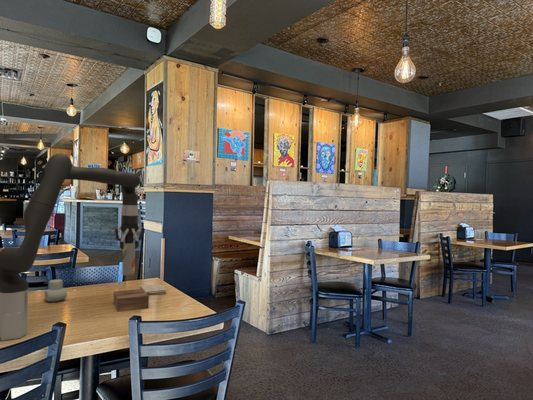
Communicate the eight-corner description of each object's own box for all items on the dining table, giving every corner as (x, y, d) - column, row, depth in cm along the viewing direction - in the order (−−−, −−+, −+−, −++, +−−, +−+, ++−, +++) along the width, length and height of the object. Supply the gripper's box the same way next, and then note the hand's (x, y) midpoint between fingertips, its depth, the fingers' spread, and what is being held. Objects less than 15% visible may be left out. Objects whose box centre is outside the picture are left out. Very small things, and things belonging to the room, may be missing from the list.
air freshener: (43, 299, 186) (43, 279, 186) (61, 296, 192) (61, 277, 192) (49, 304, 179) (49, 283, 178) (67, 301, 184) (68, 281, 184)
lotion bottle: (136, 273, 183) (137, 233, 182) (132, 275, 177) (133, 234, 177) (124, 272, 182) (125, 232, 182) (120, 275, 177) (121, 234, 176)
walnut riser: (148, 308, 178) (148, 295, 178) (117, 311, 171) (117, 299, 171) (142, 300, 190) (142, 289, 190) (113, 303, 183) (113, 291, 183)
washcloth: (145, 297, 198) (145, 291, 198) (139, 289, 214) (139, 283, 214) (167, 294, 204) (167, 289, 204) (159, 287, 220) (159, 282, 220)
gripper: (115, 215, 172) (114, 251, 173) (146, 214, 179) (145, 249, 180) (112, 213, 179) (112, 248, 179) (143, 213, 186) (142, 247, 186)
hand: (129, 248), depth 179 cm, fingers closed on lotion bottle, 5 cm apart
